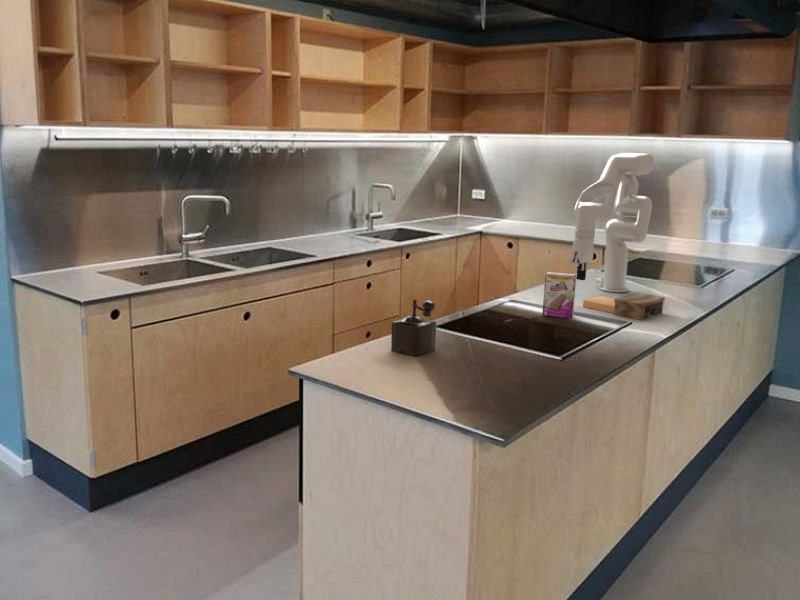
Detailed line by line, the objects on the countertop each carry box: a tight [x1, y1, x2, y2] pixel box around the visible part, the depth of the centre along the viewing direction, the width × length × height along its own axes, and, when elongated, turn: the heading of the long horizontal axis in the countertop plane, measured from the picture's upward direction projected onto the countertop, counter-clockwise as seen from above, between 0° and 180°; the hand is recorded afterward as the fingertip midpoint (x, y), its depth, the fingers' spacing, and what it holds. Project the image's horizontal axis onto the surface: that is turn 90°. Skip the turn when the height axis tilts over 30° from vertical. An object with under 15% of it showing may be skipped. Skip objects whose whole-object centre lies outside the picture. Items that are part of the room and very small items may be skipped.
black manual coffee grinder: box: [390, 298, 437, 357], centre depth 224 cm, size 16×11×18 cm
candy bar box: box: [542, 271, 577, 320], centre depth 271 cm, size 11×5×16 cm, turn 71°
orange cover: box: [582, 295, 615, 314], centre depth 287 cm, size 14×12×3 cm
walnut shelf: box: [613, 292, 666, 321], centre depth 277 cm, size 12×18×6 cm, turn 135°
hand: (580, 279), depth 293 cm, fingers closed
